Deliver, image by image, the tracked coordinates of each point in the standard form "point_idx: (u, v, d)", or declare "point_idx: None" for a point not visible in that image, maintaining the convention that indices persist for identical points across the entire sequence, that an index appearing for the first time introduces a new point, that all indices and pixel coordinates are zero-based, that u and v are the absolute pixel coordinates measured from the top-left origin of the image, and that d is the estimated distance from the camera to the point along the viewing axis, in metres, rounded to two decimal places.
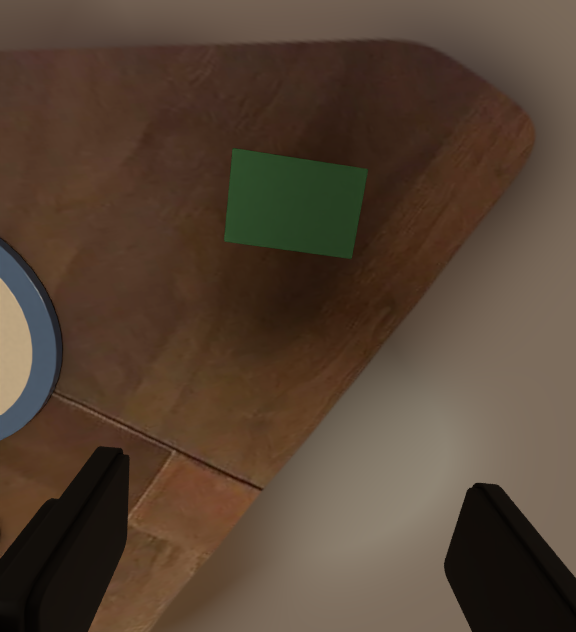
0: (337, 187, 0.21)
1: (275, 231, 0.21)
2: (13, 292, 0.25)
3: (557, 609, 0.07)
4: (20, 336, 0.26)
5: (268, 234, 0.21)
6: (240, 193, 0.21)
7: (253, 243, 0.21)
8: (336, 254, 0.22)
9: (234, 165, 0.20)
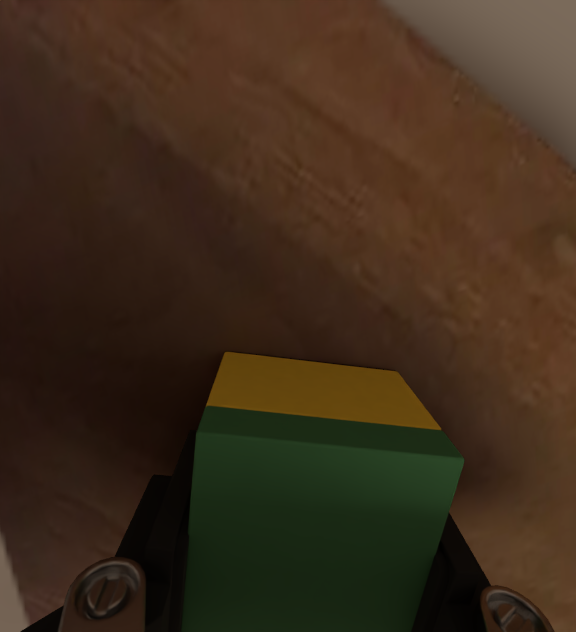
0: (253, 509, 0.07)
1: None
2: None
3: None
4: None
5: None
6: None
7: None
8: (446, 500, 0.07)
9: None
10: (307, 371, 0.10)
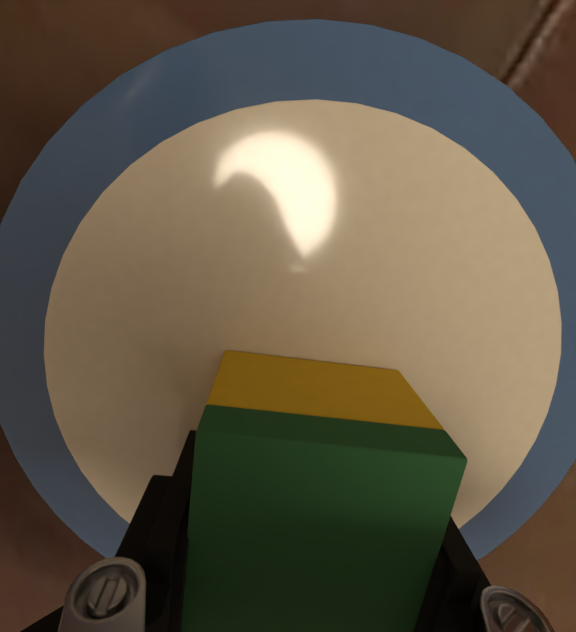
0: (253, 509, 0.07)
1: None
2: (187, 128, 0.09)
3: None
4: (315, 130, 0.09)
5: None
6: None
7: None
8: (448, 500, 0.07)
9: None
10: (308, 370, 0.10)
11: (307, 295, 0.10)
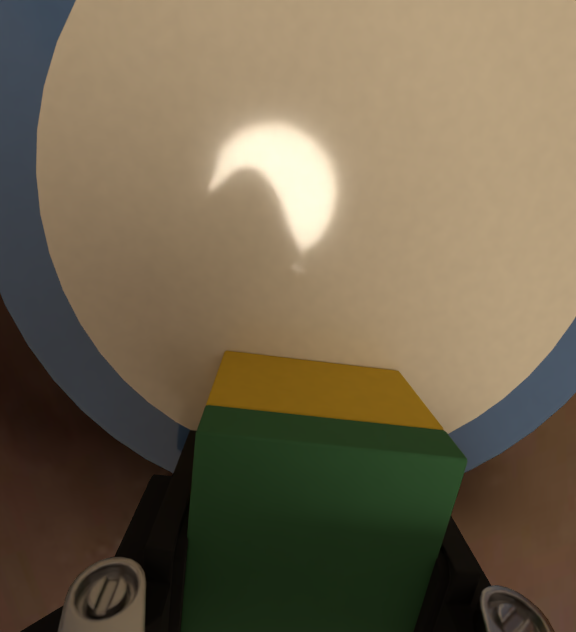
0: (253, 510, 0.07)
1: None
2: None
3: None
4: None
5: None
6: None
7: None
8: (448, 501, 0.07)
9: None
10: (308, 370, 0.10)
11: (338, 99, 0.09)
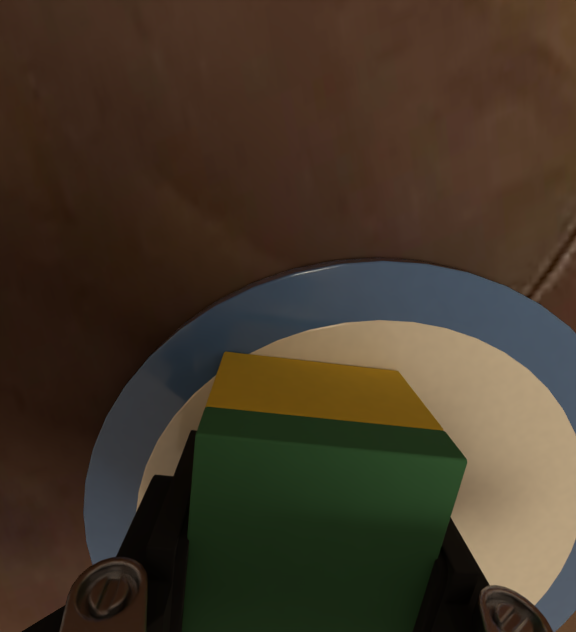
0: (253, 511, 0.07)
1: None
2: (267, 342, 0.10)
3: None
4: (377, 343, 0.10)
5: None
6: None
7: None
8: (448, 501, 0.07)
9: None
10: (307, 371, 0.10)
11: None
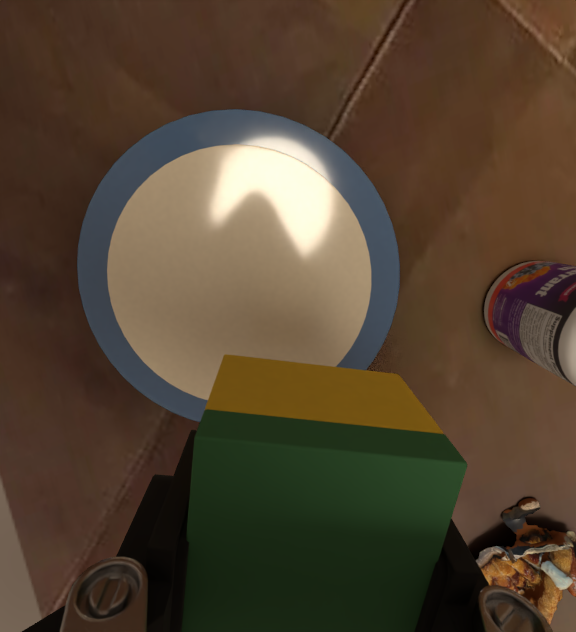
0: (252, 515, 0.07)
1: None
2: (177, 158, 0.19)
3: None
4: (236, 158, 0.19)
5: None
6: None
7: None
8: (448, 505, 0.07)
9: None
10: (307, 374, 0.10)
11: (237, 238, 0.20)
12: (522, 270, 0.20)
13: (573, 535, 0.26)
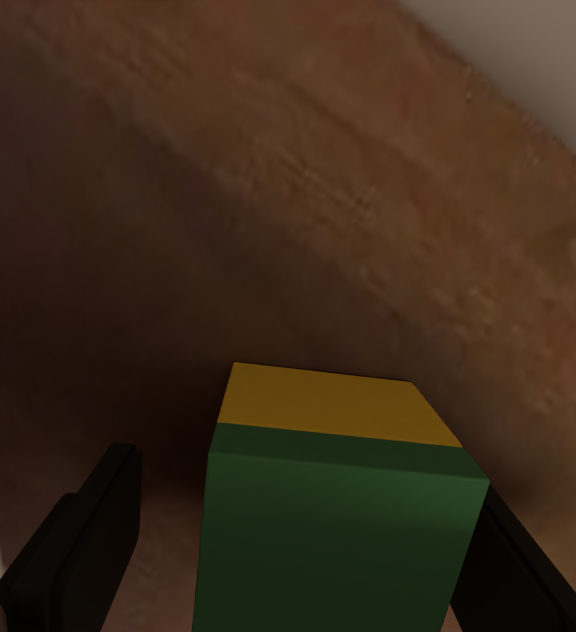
0: (267, 532, 0.07)
1: None
2: None
3: (537, 597, 0.07)
4: None
5: None
6: None
7: None
8: (469, 522, 0.07)
9: None
10: (319, 383, 0.09)
11: None
12: None
13: None
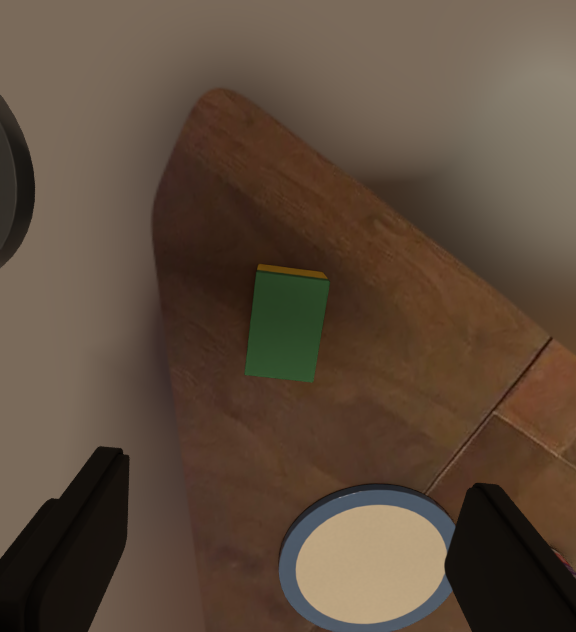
0: (271, 296, 0.25)
1: (306, 344, 0.26)
2: (342, 510, 0.34)
3: (557, 609, 0.07)
4: (376, 511, 0.34)
5: (308, 349, 0.26)
6: (276, 370, 0.27)
7: (315, 361, 0.27)
8: (325, 294, 0.25)
9: (256, 374, 0.27)
10: (288, 269, 0.28)
11: (372, 546, 0.35)
12: None
13: None
